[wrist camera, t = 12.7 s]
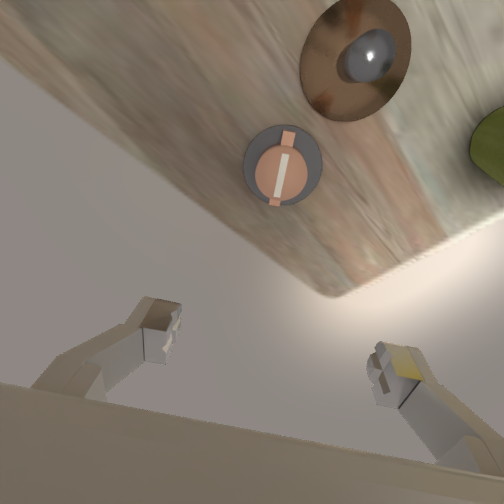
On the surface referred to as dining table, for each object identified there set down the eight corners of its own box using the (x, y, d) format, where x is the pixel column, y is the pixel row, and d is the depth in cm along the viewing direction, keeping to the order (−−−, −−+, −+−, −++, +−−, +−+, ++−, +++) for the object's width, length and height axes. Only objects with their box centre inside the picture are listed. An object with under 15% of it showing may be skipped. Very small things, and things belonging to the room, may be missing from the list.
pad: (238, 196, 38) (238, 197, 38) (250, 117, 33) (249, 118, 33) (309, 210, 38) (310, 211, 38) (331, 133, 33) (332, 134, 33)
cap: (264, 125, 33) (261, 129, 29) (313, 134, 33) (317, 139, 29) (252, 196, 38) (249, 208, 34) (296, 204, 38) (297, 217, 34)
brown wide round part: (289, 111, 33) (291, 116, 26) (316, -14, 27) (327, -50, 20) (382, 128, 33) (408, 138, 26) (427, 7, 27) (476, -22, 20)
